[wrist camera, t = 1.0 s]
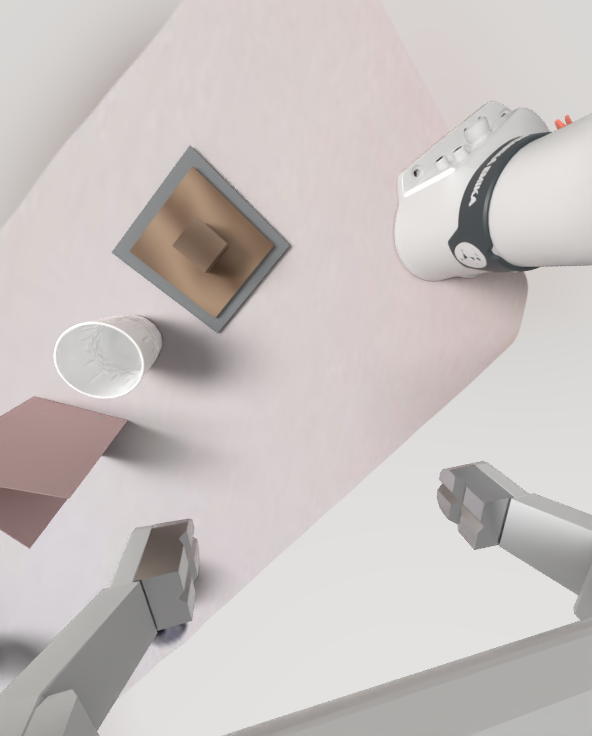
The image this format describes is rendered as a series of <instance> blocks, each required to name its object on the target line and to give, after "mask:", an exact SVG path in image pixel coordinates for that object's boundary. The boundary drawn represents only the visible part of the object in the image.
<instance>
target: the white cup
mask: <svg viewBox="0 0 592 736" xmlns="http://www.w3.org/2000/svg"><path fill="white" fill-rule="evenodd" d="M161 348H162V339H161V334H160V332H159V331H158V329H157V327H156V326H155V324H153V323H152V322H150V321H149V320H148V319H146V318H145V317H142V316H138V315H133V314H129V315H123V316H113V317H107V318H103V319H98V320H94V321H89V322H85V323H80V324H77V325H75V326H72V327H71V328H69V329H67V330H66V331H65V332H64V333H63V334H62V335H61V336H60V337H59V339H58V341H57V343H56V345H55V349H54V361H55V365H56V368H57V370H58V372H59V374H60V376H61V377H62V378H63V380H64V381H65V382H66V383H67V384H68V385H69V386H71V387H72V388H73V389H75V390H76V391H78V392H80V393H82V394H84V395H87V396H90V397H94V398H101V399H110V398H116V397H120V396H123V395H125V394H127V393H129V392H130V391H132V390H133V389H134V388H135V387H136V386H137V385H138V384H139V382H140V381H141V380H142V378H143V377H144V376H145V374H146V373H147V372H148V370H149V369H150V367H151V366H152V364H153V363H154V361H155V360H156V358H157V356H158V354H159V352H160V350H161Z"/></svg>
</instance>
